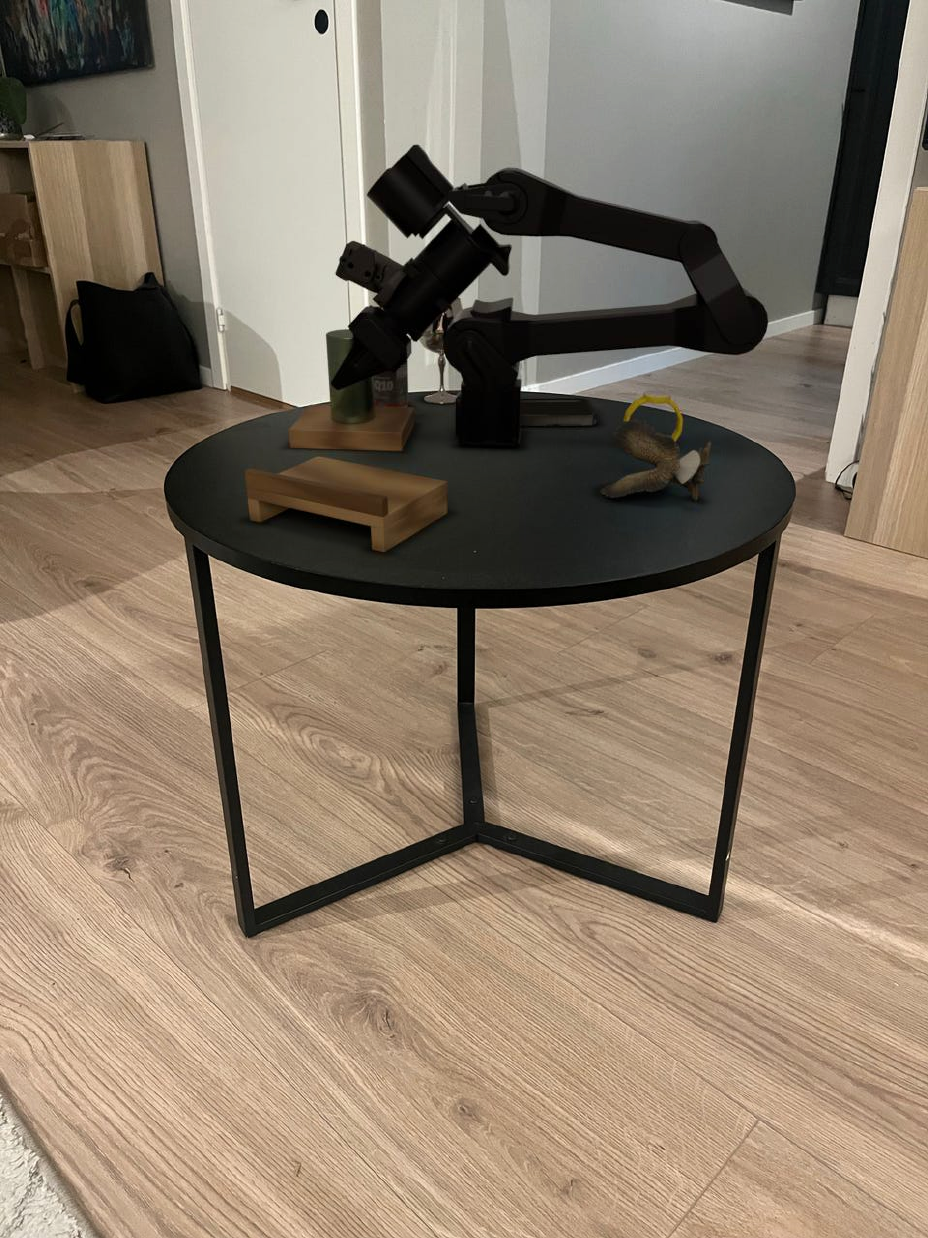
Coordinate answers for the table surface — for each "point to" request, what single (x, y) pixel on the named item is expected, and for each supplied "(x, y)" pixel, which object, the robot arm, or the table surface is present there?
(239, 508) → the table surface
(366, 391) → the green tumbler
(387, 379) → the pill bottle
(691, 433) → the table surface
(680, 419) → the watch
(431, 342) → the wineglass
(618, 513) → the table surface
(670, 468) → the eagle figurine
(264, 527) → the table surface
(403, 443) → the wooden block
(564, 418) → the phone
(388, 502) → the shelf
